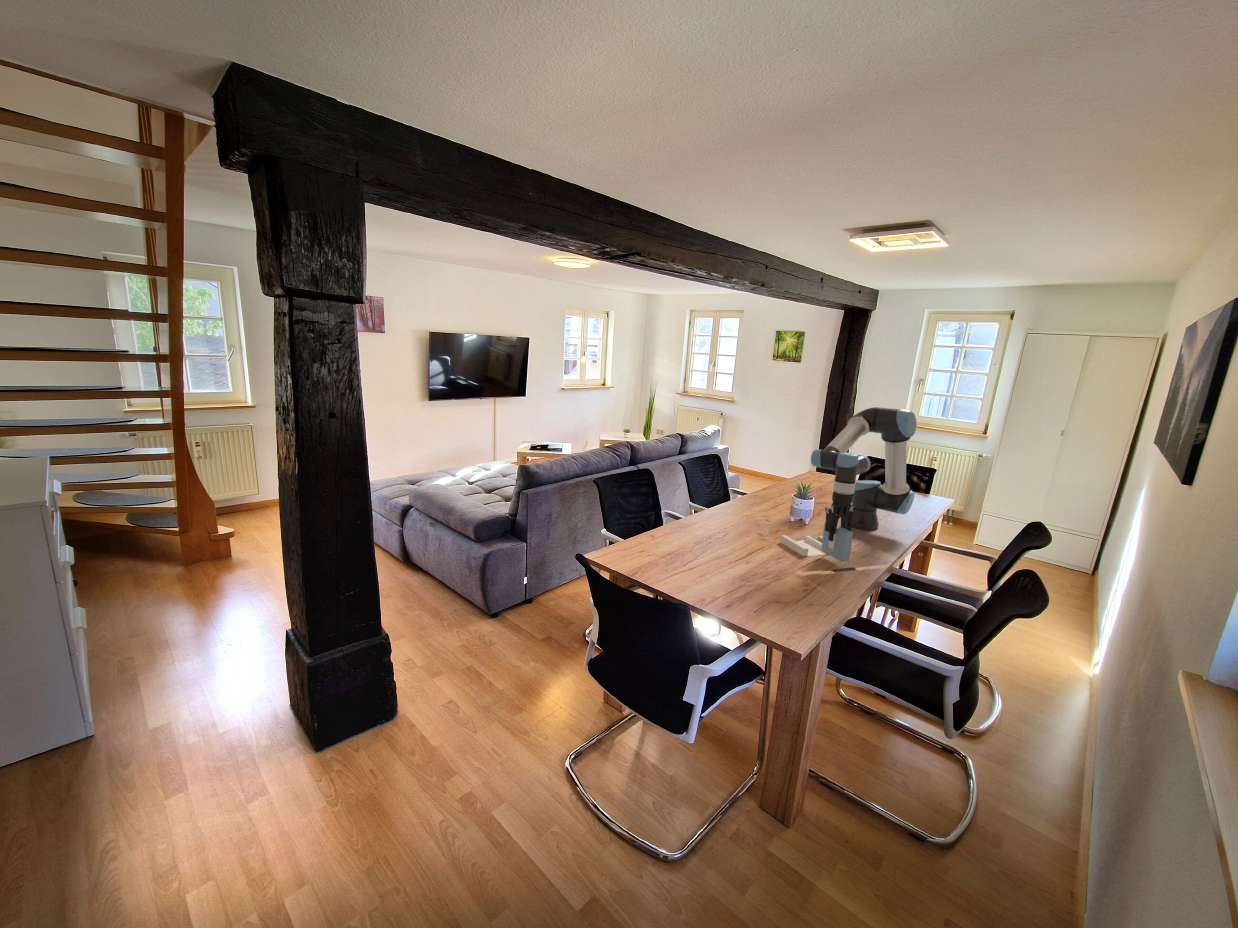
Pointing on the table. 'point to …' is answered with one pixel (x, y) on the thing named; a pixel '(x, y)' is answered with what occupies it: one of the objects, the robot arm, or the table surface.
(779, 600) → the table surface
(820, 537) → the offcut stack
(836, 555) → the blue-grey square block
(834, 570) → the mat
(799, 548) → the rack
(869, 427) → the robot arm
